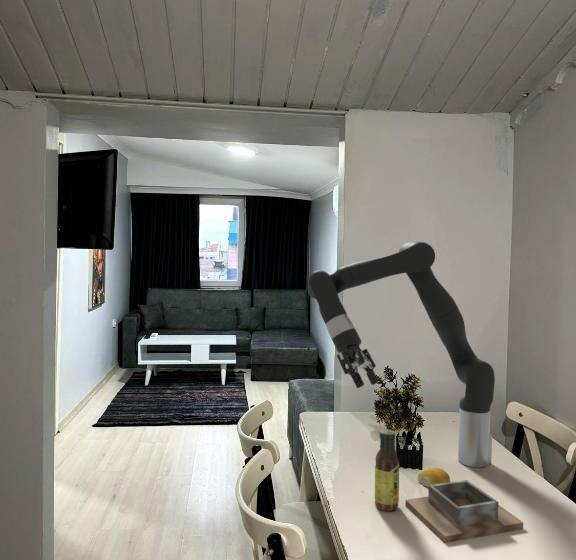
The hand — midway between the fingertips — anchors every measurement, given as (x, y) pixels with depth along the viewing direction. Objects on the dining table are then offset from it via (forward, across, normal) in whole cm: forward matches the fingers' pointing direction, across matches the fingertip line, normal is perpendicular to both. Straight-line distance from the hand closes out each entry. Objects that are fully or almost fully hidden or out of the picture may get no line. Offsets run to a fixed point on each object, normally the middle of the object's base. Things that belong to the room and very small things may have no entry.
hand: (368, 385), depth 142 cm
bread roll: (+31, +20, +5) cm, 37 cm away
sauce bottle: (+30, -2, +10) cm, 32 cm away
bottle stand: (+39, +5, -5) cm, 40 cm away
